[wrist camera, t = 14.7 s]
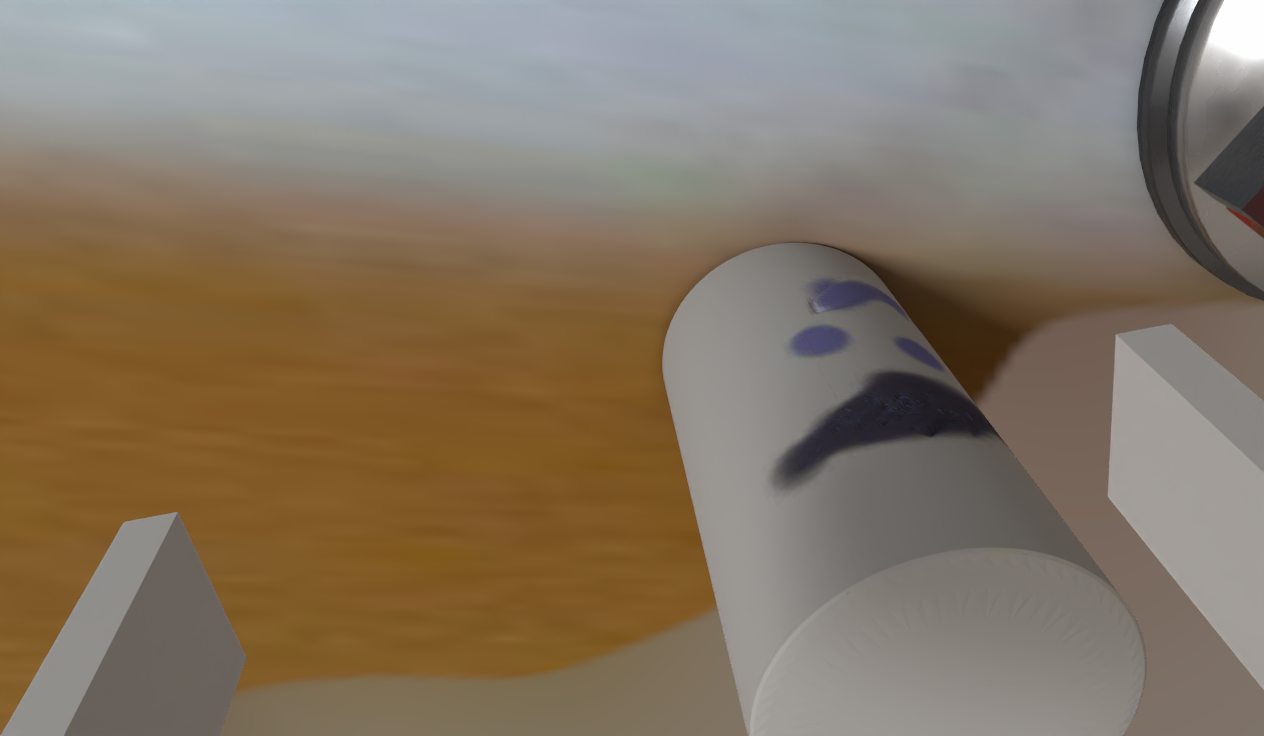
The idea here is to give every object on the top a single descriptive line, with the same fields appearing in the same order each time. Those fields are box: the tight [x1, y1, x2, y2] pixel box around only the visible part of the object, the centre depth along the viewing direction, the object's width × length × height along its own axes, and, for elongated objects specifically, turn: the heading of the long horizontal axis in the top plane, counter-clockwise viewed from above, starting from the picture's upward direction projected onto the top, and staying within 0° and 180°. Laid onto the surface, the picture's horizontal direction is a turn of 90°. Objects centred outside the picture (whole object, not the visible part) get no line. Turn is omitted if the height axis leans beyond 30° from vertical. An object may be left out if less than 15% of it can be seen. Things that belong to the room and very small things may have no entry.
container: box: [662, 243, 1147, 736], centre depth 35 cm, size 10×10×20 cm
